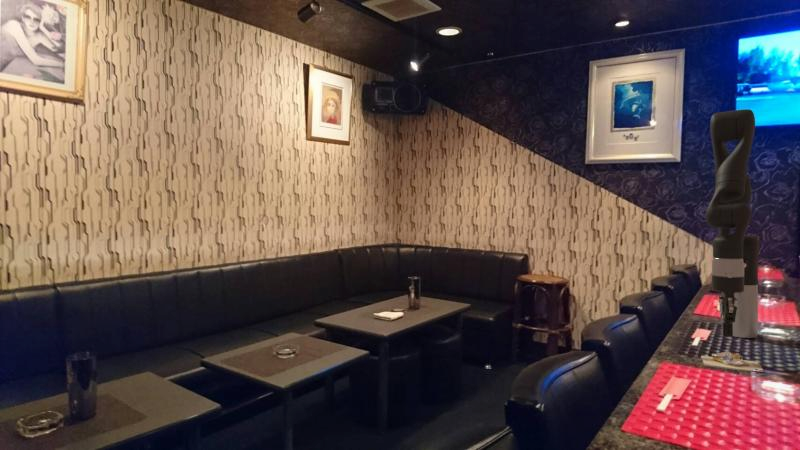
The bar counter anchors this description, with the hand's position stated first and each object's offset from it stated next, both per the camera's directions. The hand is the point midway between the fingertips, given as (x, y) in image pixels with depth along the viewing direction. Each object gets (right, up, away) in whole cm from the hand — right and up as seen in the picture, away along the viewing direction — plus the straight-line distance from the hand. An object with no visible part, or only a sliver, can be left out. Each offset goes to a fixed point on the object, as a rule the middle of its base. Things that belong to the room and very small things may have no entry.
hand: (727, 335), depth 135 cm
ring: (+1, -6, +1) cm, 6 cm away
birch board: (-2, -7, -5) cm, 8 cm away
